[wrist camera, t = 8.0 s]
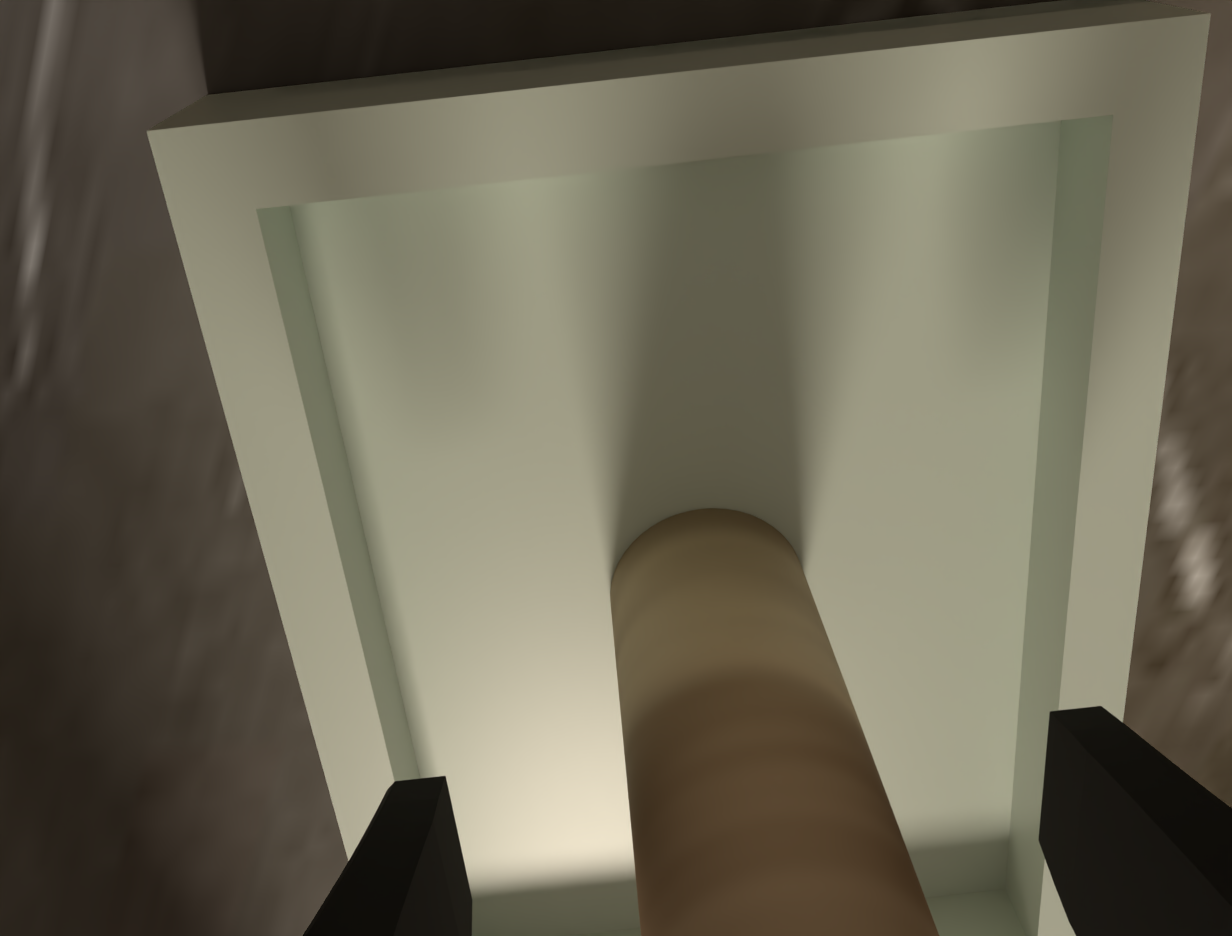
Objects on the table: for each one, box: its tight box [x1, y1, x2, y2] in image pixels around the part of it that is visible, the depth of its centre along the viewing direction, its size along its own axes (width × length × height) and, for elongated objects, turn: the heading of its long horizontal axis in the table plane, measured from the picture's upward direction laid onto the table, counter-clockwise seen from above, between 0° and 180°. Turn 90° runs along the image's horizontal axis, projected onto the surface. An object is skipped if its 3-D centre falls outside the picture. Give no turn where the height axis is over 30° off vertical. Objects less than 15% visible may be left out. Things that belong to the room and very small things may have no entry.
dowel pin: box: [610, 508, 939, 936], centre depth 14 cm, size 3×3×8 cm
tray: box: [147, 0, 1211, 936], centre depth 18 cm, size 16×12×2 cm
